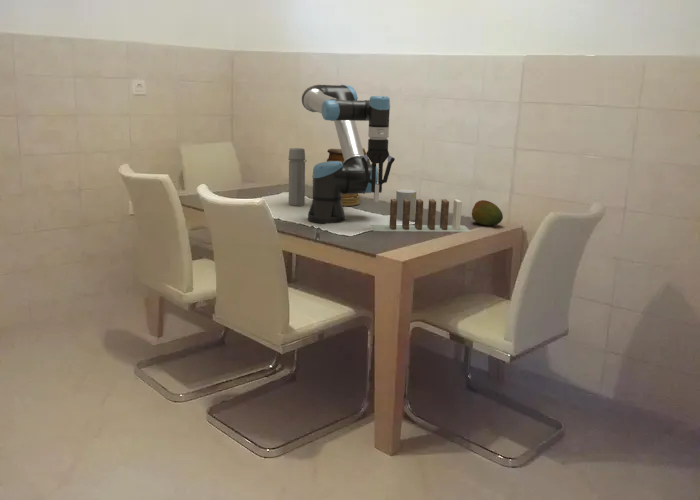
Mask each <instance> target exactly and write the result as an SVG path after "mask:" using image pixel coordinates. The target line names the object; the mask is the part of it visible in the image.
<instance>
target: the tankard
mask: <svg viewBox="0 0 700 500" xmlns="http://www.w3.org/2000/svg"><path fill="white" fill-rule="evenodd" d="M362 149H363V153H364V156H365V155H366V153H367V151H366V149H365V147H362ZM327 153H328V154H329V155H328V158H326V162H328V161H340V162H342V164H343V162H344V158H343V154H342V150H341V148H329V149H327ZM341 202H342V206H343V207H353V206H354V207H355V206H358V205H360V204H361V200H360V194H359V193H358V194H342V196H341Z"/></svg>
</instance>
